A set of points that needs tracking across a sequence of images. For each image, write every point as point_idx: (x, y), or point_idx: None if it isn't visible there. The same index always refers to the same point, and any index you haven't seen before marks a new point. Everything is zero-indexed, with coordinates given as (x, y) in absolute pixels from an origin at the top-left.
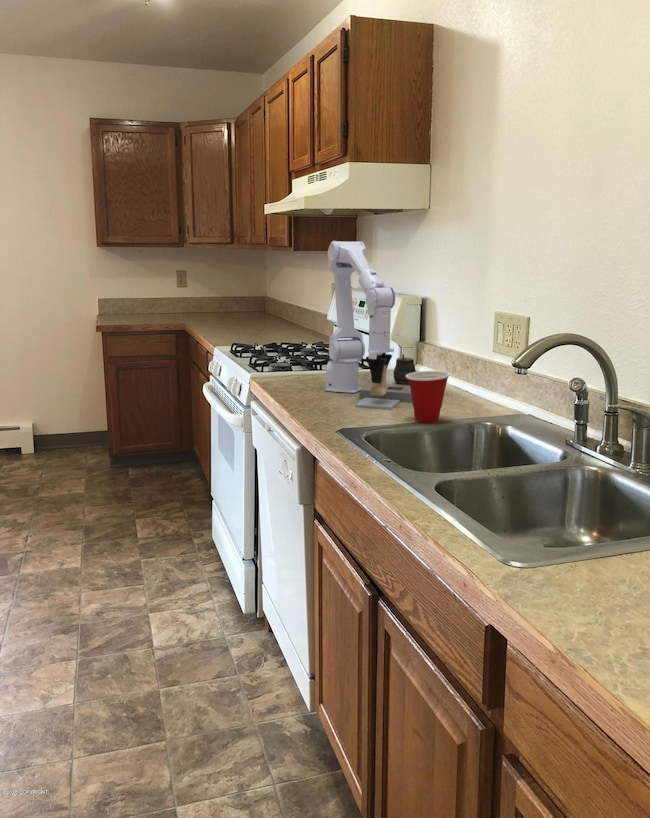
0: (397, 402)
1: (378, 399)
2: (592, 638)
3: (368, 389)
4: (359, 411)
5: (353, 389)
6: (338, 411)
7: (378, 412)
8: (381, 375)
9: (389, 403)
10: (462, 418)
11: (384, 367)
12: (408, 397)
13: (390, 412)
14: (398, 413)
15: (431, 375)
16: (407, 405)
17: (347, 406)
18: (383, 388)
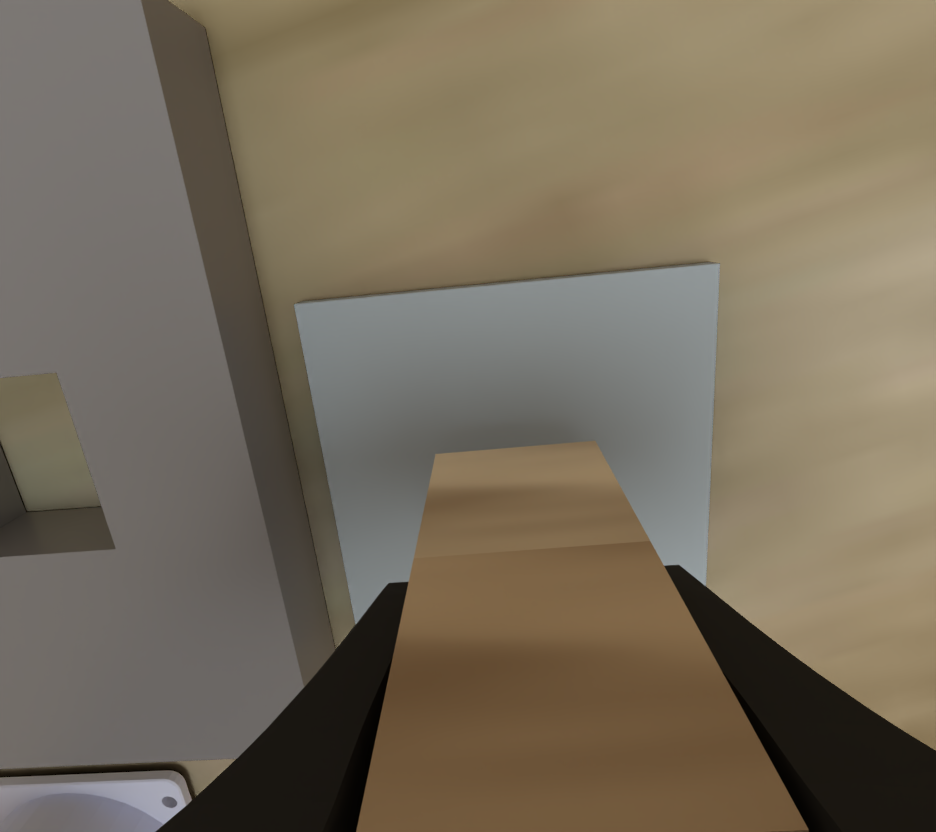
0: (405, 292)
1: (383, 514)
2: None
3: (252, 693)
4: (889, 519)
5: (126, 814)
6: (933, 667)
7: (891, 342)
8: (769, 641)
9: (525, 349)
10: None
11: (651, 788)
12: (217, 205)
13: (859, 220)
14: (891, 110)
15: None
16: (417, 157)
17: None
18: (594, 480)
